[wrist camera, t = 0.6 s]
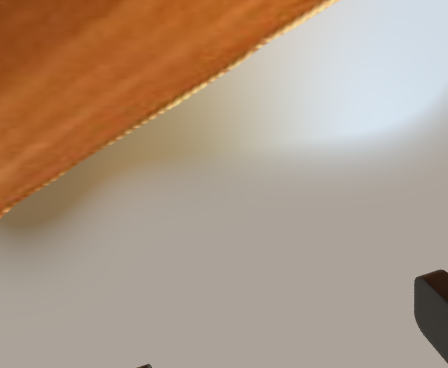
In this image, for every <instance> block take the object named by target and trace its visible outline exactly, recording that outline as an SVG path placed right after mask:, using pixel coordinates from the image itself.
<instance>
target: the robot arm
mask: <svg viewBox="0 0 448 368" xmlns="http://www.w3.org/2000/svg"><path fill="white" fill-rule="evenodd" d="M414 290H415V291H414V294H415V295H414V315H415V319H416V322H417V324H418V326H419V328H420V330H421V332H422V333H423V335H424V336H425V337H426V338H427V339H428V341H429V342H430V343H431V344H432V345H433V347H434V348H435V349H436V350H437V351H438V352H439V354H440V355H441V356H442V357H443V358H444V359H445V361H446V362H447V363H448V273H447V272H446V271H444V270H437V271H434V272H431V273H428V274H425V275H422V276H419V277H416V279H415V284H414ZM138 368H152V367H151V365H150V364H147V365H144V366H141V367H138Z"/></svg>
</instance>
